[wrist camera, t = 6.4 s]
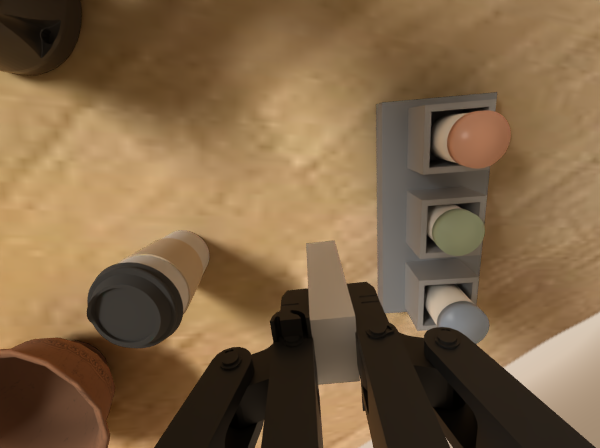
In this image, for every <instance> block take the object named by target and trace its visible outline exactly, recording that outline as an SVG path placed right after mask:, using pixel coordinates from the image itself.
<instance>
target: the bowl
mask: <svg viewBox="0 0 600 448" xmlns="http://www.w3.org/2000/svg"><path fill="white" fill-rule="evenodd" d="M114 392H115V385H114V382H113V379H112V375H111V372H110V369H109V368H108V365H107V362H106V359H105V357H104V356H103V355H102V354H101V353H100V351H99V350H98V349H96V348H94V347H93V346H91V345H90V344H88V343H84V342H80V341H76V340H75V341H69V340H65V339H62V338H44V339H33V340H30V341H27V342H24V343H22V344H20V345H18V346H15V347H13V348H11V349H1V350H0V448H108V444H109V439H110V433H109V429H108V426H107V423H106V419H107V417H108V414H109V411H110V408H111V404H112V400H113V396H114Z"/></svg>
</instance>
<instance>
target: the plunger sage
mask: <svg viewBox="0 0 600 448" xmlns="http://www.w3.org/2000/svg"><path fill="white" fill-rule="evenodd" d="M484 233H485V228H484V224H483V222H482V220H481V219H480V218H479V217H478V216H477V215H475V214H474V213H472V212H470V211H468V210H466V209H462V208H460V207H458V206H457V205H455V204H447V205H433V206H428V210H427V236H429V237H430V238H431V239H432V240H433V241H434V242H435V244H436V245H437V246H438V247H439V248H440V249H441V250H442V251H443V252H445V253H447V254H449V255H452V256H462V255H466V254H469V253H471V252H472V251H474V250H475V249H476V248H477V247H478V246H479V245H480V244H481V242H482V240H483V238H484Z"/></svg>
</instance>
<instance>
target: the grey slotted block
mask: <svg viewBox="0 0 600 448" xmlns="http://www.w3.org/2000/svg"><path fill="white" fill-rule="evenodd" d="M496 100H497V92H494V93H483V94H472V95H461V96H449V97H438V98H427V99H416V100H405V101H393V102H382V103H379V104H376V138H377V246H378V298H379V301H380V303H381V305H382V307H383V310H384V312H385V313H396V312H408V314H409V316H410V318H411V320H412V322H413V323H414V325H415V327H416V329H417V331H421V330H430V329H432V328H436V327H437V325H436V324H435V322H434V320H433V319H432V317H431V316H430V314H429V313H428V311H427V310H426V308H425V307H424V287H425V286H426V285H440V284H456V285H457V286H458V287H459V288H460V289H461V290H462V291H463V293H464V294H465V295H466V296H467V297H468V298H469V299H470V300H471V301H472V302H473V303H474V304H475V305H476V304H477V294H478V284H479V274H480V264H481V253H482V243H483V240H482V242H481V244H480V245H479V246H478V247H477V248H476V249H475V250H474V251H472V252H471V253H469V254H466V255H462V256H452V255H449V254H447V253H445V252H443V251H442V250H441V249H440V248H439V247H438V246H437V245H436V244H435V242H434V241H433V240H432V239H431V238H430V237H429V236H427V210H428V206H433V205H447V204H455V205H457V206H458V207H460V208H462V209H466V210H468V211H470V212H472V213H474V214H475V215H477V216H478V217H479V218H480V219H481V220H482V222H483V224H484V223H485V213H486V202H487V192H488V182H489V172H490V166H488V167H485V168H480V169H475V168H470V167H466V166H462V165H460V164H458V163H455V162H451V161H447V160H443V159H439V158H437V157H435V156H434V155H433V154H432V153H431V152H430V136H431V126H432V125H433V123H434V122H435V121H436V120H438V119H439V118H441V117H443V116H445V115H450V114H462V113H470V112H474V111H484V110H489V111H494V112H495V111H496Z"/></svg>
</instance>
